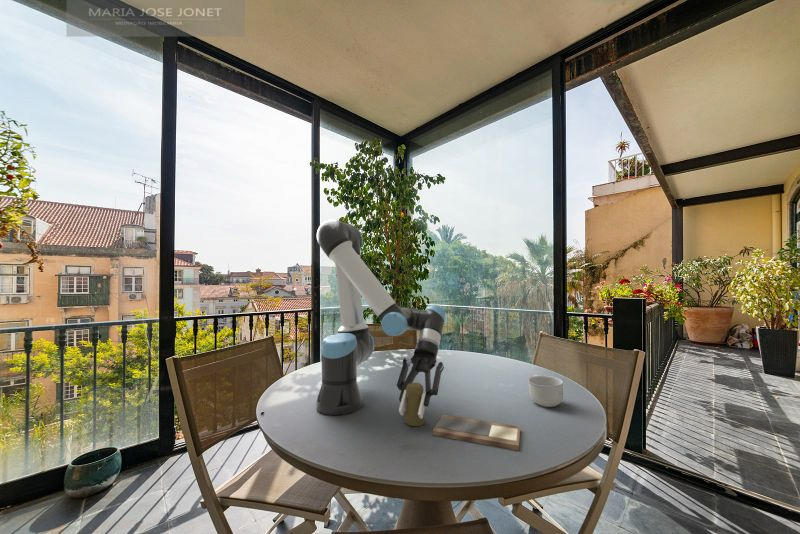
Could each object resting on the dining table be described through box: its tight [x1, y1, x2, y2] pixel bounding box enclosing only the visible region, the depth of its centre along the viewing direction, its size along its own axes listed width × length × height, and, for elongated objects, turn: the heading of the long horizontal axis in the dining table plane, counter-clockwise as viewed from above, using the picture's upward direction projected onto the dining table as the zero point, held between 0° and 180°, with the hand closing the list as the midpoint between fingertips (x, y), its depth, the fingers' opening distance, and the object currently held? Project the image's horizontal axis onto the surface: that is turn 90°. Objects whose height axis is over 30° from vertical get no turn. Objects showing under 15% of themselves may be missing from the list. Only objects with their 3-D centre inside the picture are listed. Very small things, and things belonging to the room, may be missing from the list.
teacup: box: [527, 374, 564, 408], centre depth 109 cm, size 14×11×8 cm
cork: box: [404, 382, 426, 427], centre depth 95 cm, size 6×6×11 cm
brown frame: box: [432, 414, 521, 451], centre depth 88 cm, size 22×11×1 cm, turn 68°
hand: (410, 414), depth 91 cm, fingers closed on cork, 5 cm apart
